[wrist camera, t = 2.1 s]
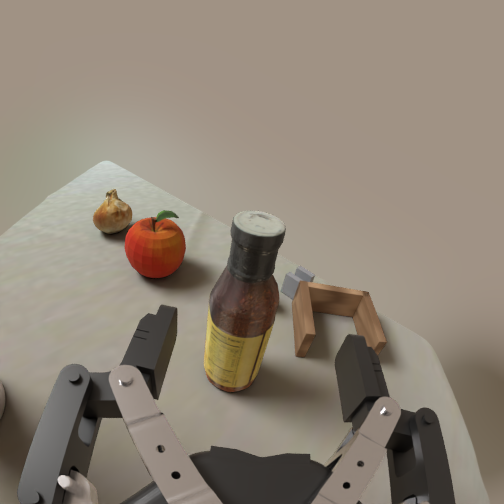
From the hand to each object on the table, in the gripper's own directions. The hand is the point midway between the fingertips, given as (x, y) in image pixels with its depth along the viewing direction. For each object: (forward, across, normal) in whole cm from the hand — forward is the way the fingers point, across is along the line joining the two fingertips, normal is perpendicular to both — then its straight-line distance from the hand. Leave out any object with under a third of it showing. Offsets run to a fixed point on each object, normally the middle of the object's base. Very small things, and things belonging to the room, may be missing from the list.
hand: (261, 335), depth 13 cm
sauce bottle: (+11, 0, +19) cm, 23 cm away
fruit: (+28, +14, +19) cm, 37 cm away
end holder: (+20, -14, +19) cm, 31 cm away
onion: (+38, +26, +19) cm, 50 cm away
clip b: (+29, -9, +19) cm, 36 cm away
